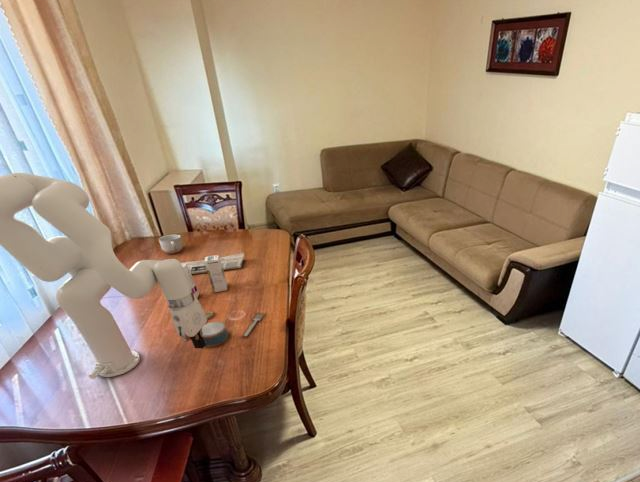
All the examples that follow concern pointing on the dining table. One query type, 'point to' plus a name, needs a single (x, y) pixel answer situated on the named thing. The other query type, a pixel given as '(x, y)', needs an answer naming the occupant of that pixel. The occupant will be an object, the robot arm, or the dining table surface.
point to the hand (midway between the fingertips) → (200, 346)
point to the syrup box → (216, 273)
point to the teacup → (171, 243)
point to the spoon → (209, 314)
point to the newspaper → (226, 262)
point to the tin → (214, 333)
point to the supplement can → (190, 279)
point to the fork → (253, 324)
